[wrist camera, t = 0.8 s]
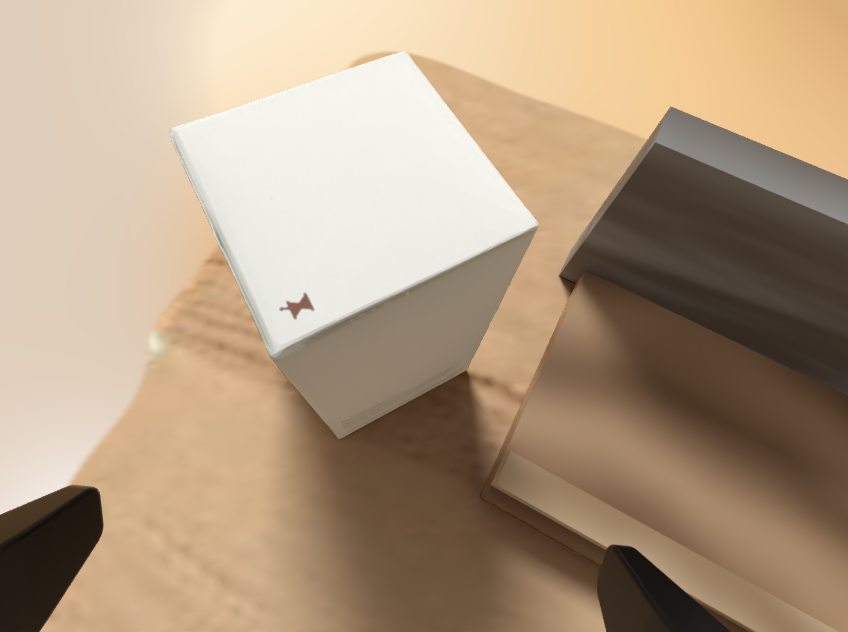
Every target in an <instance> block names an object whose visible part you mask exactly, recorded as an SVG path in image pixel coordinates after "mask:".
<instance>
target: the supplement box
mask: <svg viewBox="0 0 848 632" xmlns="http://www.w3.org/2000/svg"><path fill="white" fill-rule="evenodd" d="M170 138H171V141H172V143H173V145H174V147H175V150H176V152H177V154H178V156H179V158H180V160H181V162H182V165H183V167H184V169H185V171H186V173H187V175H188V178H189V180H190V182H191V184H192V186H193V188H194V191H195V193H196V195H197V197H198V199H199V201H200V204H201V206H202V208H203V211H204V213H205V215H206V217H207V219H208V222H209V224H210V226H211V229H212V231H213V234H214V236H215V238H216V241H217V243H218V246H219V247H220V249H221V251H222V253H223V254H224V256H225V258H226V260H227V262H228V265H229V267H230V269H231V271H232V273H233V275H234V278H235V280H236V282H237V284H238V286H239V289H240V291H241V293H242V295H243V297H244V300H245V302H246V304H247V306H248V309H249V311H250V313H251V315H252V317H253V320H254V322H255V324H256V326H257V328H258V331H259V333H260V335H261V337H262V340H263V342H264V344H265V347H266V349H267V351H268V353H269V356H270V358H271V359H272V360H273V361H274V363H275V364H276V365H277V366H278V367H279V369H280V370H281V371H282V372H283V373H284V375H285V376H286V377H287V378H288V379H289V381H290V382H291V383H292V384H293V385H294V387H295V388H296V389H297V390H298V391H299V392H300V394H301V395H302V396H303V397H304V398H305V400H306V401H307V402H308V403H309V404H310V405H311V407H312V408H313V409H314V410H315V411H316V413H317V414H318V415H319V416H320V417H321V418H322V420H323V421H324V422H325V423H326V424H327V425H328V427H329V428H330V429H331V430H332V432H333V433H334V434H335V435H336V436H337V438H338V439H341V438H343V437H345V436H347V435H349V434H350V433H352V432H354V431H356V430H358V429H360V428H362V427H363V426H365V425H367V424H369V423H371V422H372V421H374V420H376V419H378V418H380V417H381V416H383V415H385V414H387V413H389V412H391V411H393V410H395V409H396V408H398V407H400V406H402V405H404V404H405V403H407V402H409V401H411V400H413V399H415V398H417V397H419V396H420V395H422V394H424V393H426V392H428V391H430V390H432V389H433V388H435V387H437V386H439V385H441V384H443V383H444V382H446V381H448V380H450V379H452V378H454V377H455V376H457V375H459V374H461V373H463V372H464V371H466V370H467V369H468V367H469V365H470V363H471V360H472V358H473V357H474V355H475V353H476V351H477V349H478V347H479V345H480V343H481V340H482V339H483V337H484V335H485V333H486V331H487V329H488V327H489V324H490V322H491V321H492V319H493V317H494V315H495V313H496V311H497V309H498V307H499V305H500V303H501V301H502V299H503V297H504V295H505V293H506V291H507V288H508V286H509V285H510V283H511V280H512V278H513V276H514V275H515V273H516V270H517V268H518V267H519V265H520V263H521V261H522V258H523V256H524V254H525V252H526V250H527V248H528V247H529V245H530V243H531V241H532V239H533V236H534V234H535V232H536V230H537V228H538V223H537V221H536V220H535V218H534V217H533V216H532V214H531V213H530V212H529V211H528V209H527V208H526V207H525V206H524V204H523V203H522V202H521V201H520V199H519V198H518V197H517V195H516V194H515V193H514V192H513V190H512V189H511V188H510V186H509V185H508V184H507V183H506V181H505V180H504V179H503V177H502V176H501V175H500V174H499V172H498V171H497V170H496V168H495V167H494V166H493V164H492V163H491V162H490V161H489V159H488V158H487V157H486V155H485V154H484V153H483V151H482V150H481V149H480V148H479V146H478V145H477V144H476V142H475V141H474V140H473V138H472V137H471V136H470V135H469V133H468V132H467V131H466V129H465V128H464V127H463V125H462V124H461V123H460V122H459V120H458V119H457V118H456V116H455V115H454V114H453V112H452V111H451V110H450V109H449V107H448V106H447V105H446V103H445V102H444V101H443V99H442V98H441V97H440V96H439V94H438V93H437V92H436V90H435V89H434V88H433V86H432V85H431V84H430V82H429V81H428V80H427V78H426V77H425V76H424V74H423V73H422V72H421V71H420V69H419V68H418V67H417V65H416V64H415V63H414V61H413V60H412V59H411V57H410V56H409V55H408V54H407V53H406V52H404V51H402V52H399V53H396V54H393V55H390V56H387V57H384V58H380V59H377V60H374V61H371V62H368V63H365V64H362V65H359V66H356V67H353V68H350V69H347V70H345V71H342V72H339V73H336V74H333V75H329V76H326V77H323V78H320V79H317V80H314V81H311V82H308V83H305V84H302V85H300V86H297V87H294V88H291V89H288V90H285V91H282V92H279V93H277V94H274V95H271V96H268V97H266V98H262V99H259V100H257V101H254V102H251V103H248V104H245V105H242V106H239V107H236V108H233V109H231V110H228V111H224V112H221V113H218V114H215V115H211V116H208V117H205V118H202V119H199V120H196V121H192V122H189V123H186V124H182V125H179V126H176V127H173V128H172V129H171V130H170Z"/></svg>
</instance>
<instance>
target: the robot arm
mask: <svg viewBox="0 0 848 632" xmlns="http://www.w3.org/2000/svg"><path fill="white" fill-rule="evenodd" d="M102 531H103V515H102V506H101V498H100V492H99V491H98V489H97V488H95V487H90V486H81V485H70V486H67V487H65V488H62V489H60V490H58V491H55V492H53V493H50V494H48V495H46V496H43V497H41V498H39V499H36V500H34V501H32V502H29V503H27V504H25V505H22V506H20V507H17V508H15V509H13V510H10V511H8V512H5V513H3V514H1V515H0V632H40V630H41V629H42V627H43V626H44V625H45V623H46V622H47V620H48V619H49V617H50V616H51V614H52V613H53V611H54V609H55V608H56V606H57V605H58V603H59V602H60V600H61V599H62V597H63V595H64V594H65V592H66V591H67V589H68V588H69V586H70V585H71V583H72V582H73V580H74V578H75V577H76V575H77V574H78V572H79V571H80V569H81V568H82V566H83V564H84V563H85V561H86V560H87V558H88V557H89V555H90V554H91V552H92V550H93V549H94V547H95V546H96V544H97V543H98V541H99V539H100V537H101V535H102ZM597 593H598V598H599V602H600V606H601V611H602V615H603V619H604V624H605V628H606V632H731V631H730V630H729V629H728V628H726V627H725V626H724V625H723V624H722V623H721V622H719V621H718V620H717V619H716V618H715V617H714V616H713V615H711V614H710V613H709V612H708V611H707V610H706V609H705V608H703V607H702V606H701V605H700V604H699V603H698V602H696V601H695V600H694V599H693V598H692V597H691V596H690V595H688V594H687V593H686V592H685V591H684V590H683V589H682V588H680V587H679V586H678V585H677V584H676V583H675V582H674V581H672V580H671V579H670V578H669V577H668V576H667V575H665V574H664V573H663V572H662V571H661V570H660V569H659V568H657V567H656V566H655V565H654V564H653V563H652V562H651V561H649V560H648V559H647V558H646V557H645V556H644V555H642V554H641V553H640V552H639V551H638V550H637V549H635V548H634V547H631V546H625V545H616V544H612V545H609V546H608V548H607V549H606V552H605V555H604V559H603V562H602V566H601V569H600V572H599V576H598V580H597Z"/></svg>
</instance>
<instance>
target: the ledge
mask: <svg viewBox="0 0 848 632" xmlns="http://www.w3.org/2000/svg"><path fill="white" fill-rule="evenodd" d="M559 276H561V277H563V278H565V279H567V280H569V281H571V282H574V283H576V284H575V286H574V288H573V291H572V293H571V295H570V297H569V299H568V302H567V304H566V306H565V308H564V311H563V313H562V315H561V317H560V319H559V322H558V324H557V326H556V328H555V331H554V333H553V335H552V337H551V339H550V342H549V344H548V346H547V348H546V351H545V353H544V355H543V357H542V359H541V362H540V364H539V366H538V368H537V370H536V373H535V375H534V377H533V379H532V382H531V384H530V386H529V388H528V390H527V393H526V395H525V397H524V399H523V402H522V404H521V406H520V408H519V410H518V413H517V415H516V417H515V419H514V422H513V424H512V426H511V428H510V430H509V433H508V435H507V437H506V439H505V441H504V444H503V446H502V448H501V450H500V453H499V455H498V457H497V459H496V461H495V464H494V466H493V468H492V470H491V473H490V475H489V477H488V479H487V481H486V484H485V486H484V488H483V490H482V493H481V495H480V497H481V498H483V499H484V500H486V501H488V502H490V503H491V504H493V505H495V506H497V507H498V508H500V509H502V510H504V511H505V512H507V513H509V514H511V515H512V516H514V517H516V518H518V519H519V520H521V521H523V522H525V523H526V524H528V525H530V526H532V527H533V528H535V529H537V530H539V531H540V532H542V533H544V534H546V535H547V536H549V537H551V538H553V539H554V540H556V541H558V542H559V543H561V544H563V545H565V546H566V547H568V548H570V549H572V550H573V551H575V552H577V553H579V554H580V555H582V556H584V557H586V558H587V559H589V560H591V561H593V562H594V563H596V564H598V565H600V566H602V562H603V559H604V555H605V552H606V549H607V548H608V546H609V545H612V544H616V545H625V546H631V547H634V548H635V549H637V550H638V551H639V552H640V553H641V554H642V555H644V556H645V557H646V558H647V559H648V560H649V561H651V562H652V563H653V564H654V565H655V566H656V567H657V568H659V569H660V570H661V571H662V572H663V573H664V574H665V575H667V576H668V577H669V578H670V579H671V580H672V581H674V582H675V583H676V584H677V585H678V586H679V587H680V588H682V589H683V590H684V591H685V592H686V593H687V594H688V595H690V596H691V597H692V598H693V599H694V600H695V601H696V602H698V603H699V604H700V605H701V606H702V607H703V608H705V609H706V610H707V611H708V612H709V613H710V614H711V615H713V616H714V617H715V618H716V619H717V620H718V621H719V622H721V623H722V624H723V625H724V626H725V627H726V628H728V629H729V630H730V631H731V632H848V180H847V179H845V178H842V177H840V176H838V175H835V174H833V173H830V172H828V171H826V170H823V169H821V168H818V167H816V166H813V165H811V164H809V163H806V162H804V161H801V160H799V159H797V158H794V157H792V156H789V155H787V154H784V153H782V152H780V151H777V150H774V149H772V148H770V147H767V146H765V145H762V144H760V143H757V142H755V141H753V140H750V139H748V138H746V137H743V136H741V135H738V134H736V133H733V132H731V131H729V130H726V129H724V128H721V127H719V126H716V125H714V124H711V123H709V122H707V121H704V120H702V119H700V118H697V117H695V116H692V115H690V114H687V113H685V112H683V111H680V110H678V109H675V108H673V107H670V109H669V110H668V111H667V113H666V114H665V116H664V117H663V118H662V120H661V121H660V123H659V124H658V126H657V127H656V129H655V130H654V131H653V133H652V134H651V136H650V137H649V139H648V140H647V141H646V143H645V144H644V146H643V147H642V149H641V150H640V152H639V153H638V154H637V156H636V157H635V159H634V160H633V162H632V163H631V164H630V166H629V167H628V169H627V170H626V172H625V173H624V175H623V176H622V177H621V179H620V180H619V182H618V183H617V185H616V186H615V187H614V189H613V190H612V192H611V193H610V195H609V196H608V198H607V199H606V200H605V202H604V203H603V205H602V206H601V208H600V209H599V210H598V212H597V213H596V215H595V216H594V218H593V219H592V221H591V222H590V223H589V225H588V226H587V228H586V229H585V231H584V232H583V233H582V235H581V236H580V238H579V239H578V241H577V242H576V244H575V245H574V246H573V248H572V249H571V252H570V254H569V256H568V258H567V260H566V262H565V264H564V266H563V268H562V271H561V273H560V275H559Z"/></svg>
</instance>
